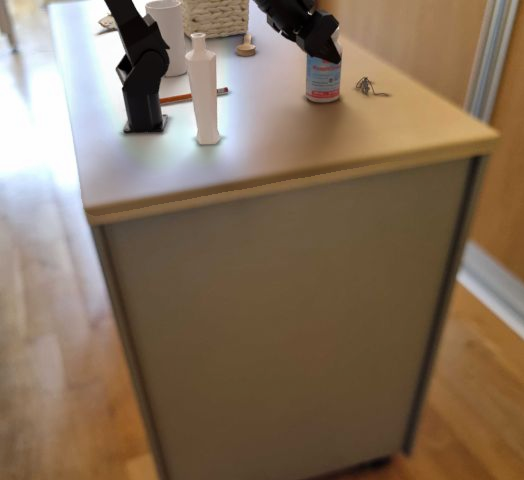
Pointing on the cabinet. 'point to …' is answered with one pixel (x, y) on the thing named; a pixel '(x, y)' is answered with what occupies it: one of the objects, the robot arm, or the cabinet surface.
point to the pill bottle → (324, 76)
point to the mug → (170, 32)
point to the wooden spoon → (246, 46)
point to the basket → (215, 17)
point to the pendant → (366, 86)
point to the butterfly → (108, 21)
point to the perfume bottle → (203, 89)
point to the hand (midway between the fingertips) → (331, 56)
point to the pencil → (187, 96)
